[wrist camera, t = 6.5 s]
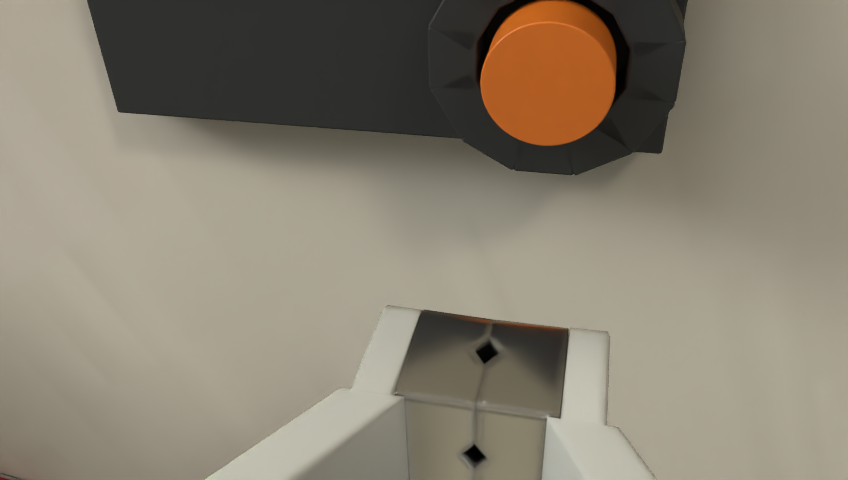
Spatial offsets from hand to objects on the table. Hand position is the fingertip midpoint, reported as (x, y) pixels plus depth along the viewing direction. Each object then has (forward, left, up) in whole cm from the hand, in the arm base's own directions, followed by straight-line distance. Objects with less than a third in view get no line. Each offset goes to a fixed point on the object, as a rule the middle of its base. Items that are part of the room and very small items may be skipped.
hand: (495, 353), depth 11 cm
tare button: (0, 0, -10) cm, 10 cm away
